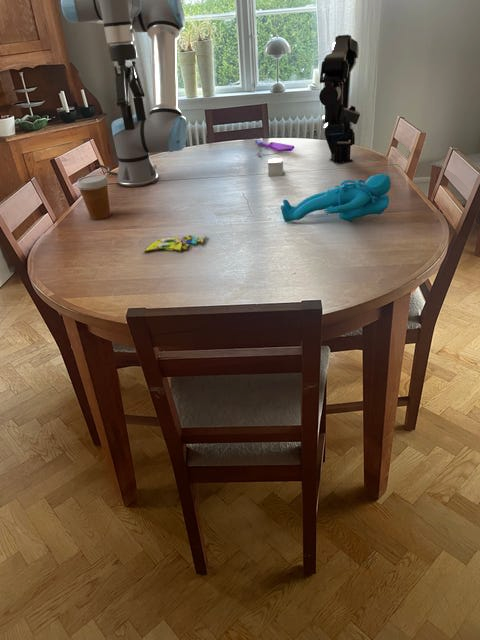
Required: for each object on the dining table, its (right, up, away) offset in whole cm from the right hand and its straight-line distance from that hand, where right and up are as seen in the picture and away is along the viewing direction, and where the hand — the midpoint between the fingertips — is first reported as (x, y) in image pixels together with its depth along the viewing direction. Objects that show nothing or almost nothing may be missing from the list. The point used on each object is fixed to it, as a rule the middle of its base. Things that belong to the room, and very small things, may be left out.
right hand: (332, 150), depth 163 cm
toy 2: (-5, -29, -26) cm, 40 cm away
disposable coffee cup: (-76, -25, -9) cm, 81 cm away
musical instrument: (-19, +16, +46) cm, 52 cm away
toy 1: (-49, -37, -33) cm, 70 cm away
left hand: (-63, +1, -19) cm, 66 cm away
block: (-18, -3, +15) cm, 24 cm away
